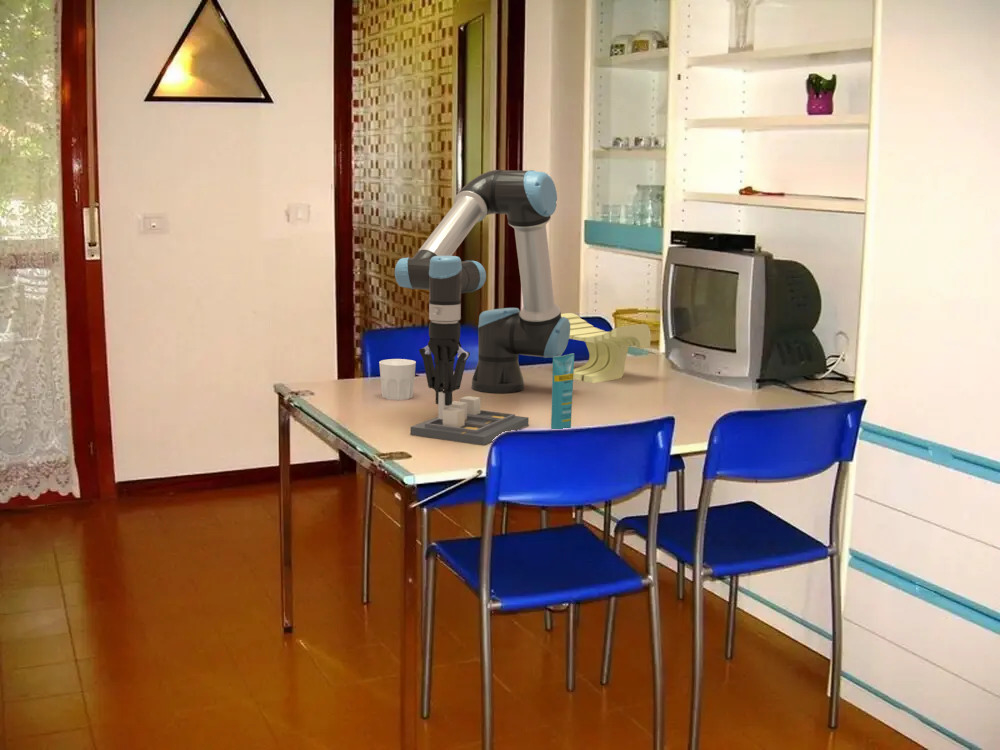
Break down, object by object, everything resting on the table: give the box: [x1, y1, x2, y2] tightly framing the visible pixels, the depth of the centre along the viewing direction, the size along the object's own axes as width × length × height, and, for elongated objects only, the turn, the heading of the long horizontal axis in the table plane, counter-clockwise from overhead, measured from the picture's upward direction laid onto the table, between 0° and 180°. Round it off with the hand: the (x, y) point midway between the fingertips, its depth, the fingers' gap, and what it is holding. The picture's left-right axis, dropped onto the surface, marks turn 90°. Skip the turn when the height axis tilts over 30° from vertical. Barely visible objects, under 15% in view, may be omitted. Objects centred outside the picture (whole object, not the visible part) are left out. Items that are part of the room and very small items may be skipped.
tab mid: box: [449, 400, 467, 419], centre depth 290 cm, size 4×4×4 cm
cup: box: [378, 358, 417, 401], centre depth 325 cm, size 10×10×10 cm
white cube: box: [443, 407, 465, 428], centre depth 283 cm, size 4×4×4 cm
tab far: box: [459, 395, 482, 415], centre depth 296 cm, size 4×4×4 cm
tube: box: [550, 353, 575, 430], centre depth 287 cm, size 7×5×19 cm, turn 139°
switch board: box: [410, 409, 529, 446], centre depth 289 cm, size 20×24×3 cm
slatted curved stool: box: [561, 312, 652, 384], centre depth 360 cm, size 30×16×18 cm, turn 44°
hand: (443, 417), depth 284 cm, fingers closed
